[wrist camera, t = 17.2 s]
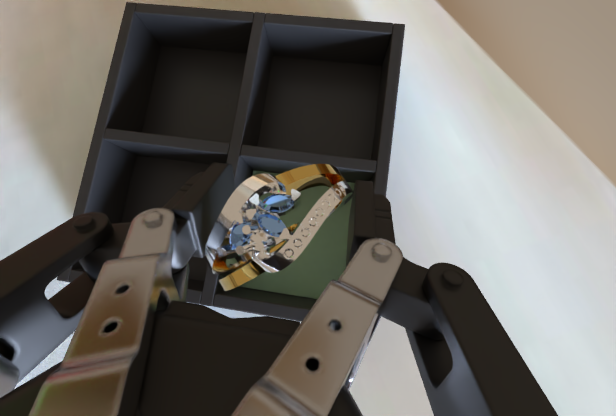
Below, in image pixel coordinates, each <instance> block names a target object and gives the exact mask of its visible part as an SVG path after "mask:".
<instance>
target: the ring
mask: <svg viewBox="0 0 616 416" xmlns="http://www.w3.org/2000/svg"><path fill="white" fill-rule="evenodd" d="M315 186H328V187H329V188H328V190H327V191H326V192H325V193H324V194H322V195H321V196H320V197H319V198H318V199H317V200H316V201H315V202H314V204H313V205H312V206H311V207H310V208H309V210H308V211H307V212H306V214H305V215H304V216H303V218H302V219H301V220H300V222H299V223H297V224H296V223H295V224H293V225H291V226H290V227H287V225H286V224H285V223H284V222H283V221H282V220H281V218H282V216H283V215H286V214H288V213H289V212H291V211H292V210H294V211H295V210H296V209H298V208H299V207H300V205H301V193H300V191H302V190H305V189H308V188H311V187H315ZM268 192H270V193H273V195H271V196H268V197H267V198H265V199H264V200H263V201H261V199H260V197H261V196H262V195H263V194H265V193H268ZM353 193H354V192H353V190H352V189H351V187H350V186H349V184H348V183H347V182H346V181H345V179H344V177H343V176H342V175H341V173H340V172H339V170H338V169H337V168H336V167H334V166H332V165H329V164H312V165H307V166H302V167H299V168H295V169H292V170H289V171H286V172H284V173H281V174H279V175H276V176H273V175H271V174H257V175H254V176H252V177H250V178H248V179H247V180H245V181H244V182H243V183H241V184H240V185H239V186H238V187H237V188H236V189H235V191H234V192H233V193H232V195H231V196H230V198H229V199H228V201H227V202H226V204H225V206H224V208H223V209H222V211H221V213H220V215H219V217H218V219H217V221H216V223H215V225H214V227H213V230H212V232H211V234H210V236H209V239H208V241H207V244H206V248H205V259H206V261H207V263H208V265H209V267H210V269H211V271H212V272H213V274H214V275H223V274H226V273H228V272H230V273H228V274H227V275H225V276H224V277H222V278H221V279H219V280H218V281H219V283H220V284H221V286H222V288H223V290H224V291H228V290H231V289H233V288H236V287H238V286H240V285H242V284H244V283H246V282H248V281H249V280H251V279H253V278H255V277H257V276H259V275H260V274H262V273H264V272H270V273H274V272H278V271H281V270H283V269H284V268H286V267H287V266H289V265H290V264H291V263H292V262H294V261H295V260H296V259H297V258H298V256H299V255H300V254H301V253H302V252H303V250H304V249H305V248H306V246H307V245H308V244H309V242H310V241H311V239H312V238H313V236H314V235H315V233H316V232H317V231H318V229H319V228H320V226H321V225H322V224H323V223H324V222H325V221H327V220H328V219H329V218H330V217H332V216H333V215H334V214H335V213H337V212H338V211H339V210H340V209H341V208H342V207H343V206H344V205H345V204H346V203H347V202H348V201H349V200H350V199H351V198H352V197H353ZM252 206H253V208H254V209H250V208H251V207H252ZM264 213H265V214H264ZM256 223H257V224H256ZM273 237H274V238H273ZM272 238H273V239H272ZM234 252H236V253H237V254H239V255H241V256H238V257H236V258H232V259H226V258H227V255H229V254H232V253H234ZM245 253H246V254H245ZM242 254H243V255H242ZM231 271H232V272H231Z"/></svg>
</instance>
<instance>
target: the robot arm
mask: <svg viewBox="0 0 616 416" xmlns="http://www.w3.org/2000/svg"><path fill="white" fill-rule="evenodd" d="M235 189H236V188H235V180H234V172H233V167H232V165H231V164H226V163H218V162H213V163H212V164H211V165H210V166H209V167H208V168H207V170H206V171H205V172H199V173H198V174H196V175H194V176H192V177H191V178H190V179H189V180H188V181H187V182H186V183H185V185H183V186H182V187H181V188H180V190H179V191H177V192H176V193H175V195H174V196H173V197H172V198H171V199H170V200H169V201H168V202H167V203H166V204H165V205H164V206H163V207H162V208H153V209H149V210H146V211H143V212H141V213H140V214H138V215H137V216H136V217H135V218H134V219H133V220H132V222H127V223H114V224H111V222H110V220H109V218H108V216H107V215H106V214H104V213H101V212H89V213H84V214H81V215H78V216H75V217H73V218H71V219H70V220H68V221H66V222H65V223H63V224H61V225H60V226H58V227H56V228H55V229H53V230H51V231H50V232H48V233H46V234H45V235H43V236H41V237H40V238H38V239H36V240H35V241H33V242H31V243H30V244H28V245H26V246H25V247H23V248H21V249H20V250H18V251H16V252H15V253H13V254H11V255H10V256H8V257H6V258H5V259H3V260H1V261H0V416H363V415H362V413H361V412H360V410H359V408H358V406H357V404H356V403H355V401H354V399H353V397H352V395H351V394H350V392H349V389H350V387H351V385H352V383H353V380H354V378H355V376H356V373H357V371H358V369H359V366H360V364H361V361H362V359H363V356H364V354H365V352H366V349H367V347H368V345H369V343H370V341H371V338H372V336H373V334H374V332H375V329H376V327H377V325H378V323H379V321H380V318H381V316H382V317H384V318H386V319H388V320H390V321H392V322H395V323H397V324H399V325H401V326H403V327H405V329H406V332H407V335H408V338H409V341H410V345H411V348H412V351H413V354H414V357H415V360H416V363H417V366H418V369H419V372H420V375H421V378H422V381H423V384H424V387H425V390H426V393H427V396H428V399H429V402H430V405H431V408H432V411H433V414H434V416H558V415H557V413H556V412H555V410H554V408H553V407H552V405H551V403H550V402H549V400H548V399H547V397H546V395H545V394H544V392H543V391H542V389H541V387H540V386H539V384H538V383H537V381H536V379H535V378H534V376H533V375H532V373H531V371H530V370H529V368H528V367H527V365H526V363H525V362H524V360H523V359H522V357H521V355H520V354H519V352H518V351H517V349H516V347H515V346H514V344H513V343H512V341H511V339H510V338H509V336H508V334H507V333H506V331H505V330H504V328H503V326H502V325H501V323H500V322H499V320H498V318H497V317H496V315H495V314H494V312H493V310H492V309H491V307H490V306H489V304H488V302H487V301H486V299H485V298H484V296H483V294H482V293H481V291H480V290H479V288H478V286H477V285H476V283H475V282H474V280H473V279H472V277H471V276H470V275H469V274H468V273H467V272H466V271H464V270H463V269H461V268H459V267H457V266H455V265H452V264H448V263H436V264H434V265H432V266H431V267H430V268H429V269H426V268H424V267H421V266H419V265H416V264H414V263H412V262H410V261H408V260H407V259H405V258H404V257H403V255H402V252H401V250H400V249H399V248H398V246H396V245H395V237H394V230H393V222H392V214H391V206H390V202H389V201H388V199H387V198H386V197H385V195H381V194H374V188H373V182H371V181H363V180H356V181H355V185H354V191H353V192H354V193H353V197H352V202H351V208H350V215H349V224H348V240H347V255H346V268H345V270H344V271H343V273H342V274H341V276H340V277H339V279H338V280H335V279H333V280H331V281H330V282H329V284H328V285H327V286H326V288H325V289H324V291H323V292H322V294H321V295H320V296H319V298H318V299H317V301H316V302H315V304H314V305H313V306H312V308H311V309H310V311H309V312H308V314H307V315H306V317H305V318H304V319H303V321H302V322H301V324H300V322H298V321H292V320H287V319H281V318H275V317H269V316H264V317H250V318H229V317H227V316H224V315H222V314H220V313H218V312H216V311H214V310H212V309H210V308H207V307H205V306H203V305H199V304H193V303H187V302H186V299H187V289H188V279H189V270H190V266H189V263H188V261H189V260H190V258H191V257H192V256H193V257H199V258H203V256H204V255H205V248H206V244H207V241H208V239H209V236H210V234H211V232H212V230H213V227H214V225H215V223H216V221H217V219H218V217H219V215H220V213H221V211H222V209H223V208H224V206H225V204H226V202H227V201H228V199H229V198H230V196H231V195H232V193H233V192H234V191H235ZM78 261H79V263H80V264H81V266H82V267H83V269H84V270H85V272H84V273H82V274H81V275H80V276H79V277H77V278H76V279H75V280H73V281H72V282H71V283H70V284H68V285H67V286H66V287H64V288H63V289H62V290H61V291H59V292H58V293H57V294H55V295H54V296H53V297H52V298H50V299H49V300H48V299H47V298H46V297H45V294H44V292H45V288H46V287H47V285H48V284H49V283H50V282H51V281H52V280H53V279H55V278H56V277H57V276H59V275H60V274H62V273H63V272H64V271H66V270H67V269H68V268H70V267H71V266H73V265H74V264H75V263H77V262H78ZM75 330H76V331H75ZM74 331H75V333H74V335H73V338H72V340H71V343H70V345H69V347H68V350H67V352H66V355H65V357H64V359H63V361H62V362H60V363H58V364H57V365H55V366H53V367H51V368H50V369H48V370H46V371H45V372H43V373H41V374H40V375H38V376H36V377H35V378H33V379H31V380H30V381H28V382H26V383H24V384H23V385H21V386H19V387H18V388H16V389H14V388H15V387H16V385H17V383H18V382H19V381H21V380H22V379H23V378H24V377H25V376H26V375H27V374H28V373H29V372H30V371H31V370H33V369H34V368H35V367H36V366H37V365H38V364H39V363H40V362H41V361H42V360H43V359H45V358H46V357H47V356H48V355H49V354H50V353H51V352H52V351H53V350H54V349H55V348H57V347H58V346H59V345H60V344H61V343H62V342H63V341H64V340H65V339H66V338H67V337H69V336H70V335H71V334H72V333H73V332H74Z"/></svg>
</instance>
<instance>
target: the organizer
mask: <svg viewBox="0 0 616 416" xmlns="http://www.w3.org/2000/svg"><path fill="white" fill-rule="evenodd" d="M404 30H405V24H393V23H384V22H371V21H358V20H346V19H333V18H320V17H308V16H295V15H282V14H270V13H266V14H265V13H258V12H255V13H253V12H243V11H230V10H217V9H205V8H192V7H179V6H167V5H154V4H141V3H131V2H127V3H126V6H125V10H124V14H123V18H122V22H121V26H120V30H119V34H118V38H117V42H116V46H115V50H114V54H113V58H112V62H111V66H110V70H109V74H108V78H107V82H106V86H105V90H104V94H103V98H102V102H101V106H100V110H99V114H98V118H97V122H96V126H95V130H94V134H93V138H92V142H91V146H90V150H89V154H88V158H87V162H86V166H85V170H84V174H83V178H82V182H81V186H80V190H79V194H78V198H77V202H76V206H75V210H74V214H73V217H75V216H78V215H81V214H84V213H89V212H101V213H104V214H106V215H107V216H108V218H109V220H110V222H111V224H114V223H127V222H132V220H133V219H134V218H135V217H136V216H137V215H138V214H140V213H141V212H143V211H146V210H149V209H153V208H162V207H163V206H164V205H165V204H166V203H167V202H168V201H169V200H170V199H171V198H172V197H173V196H174V195H175V193H176V192H177V191H179V190H180V188H181V187H182V186H183V185H185V183H186V182H187V181H188V180H189V179H190V178H191V177H192V176H194V175H196V174H198V173H199V172H205V171H206V170H207V168H208V167H209V166H210V165H211V164H212V163H213V162H218V163H226V164H231V165H232V167H233V172H234V180H235V188H237V187H238V186H239V185H240V184H241V183H243V182H244V181H245V180H247V179H248V178H250V177H252V176H254V175H257V174H271V175H273V176H276V175H279V174H281V173H284V172H286V171H289V170H292V169H295V168H299V167H302V166H307V165H312V164H329V165H332V166H334V167H336V168H337V169H338V170H339V172H340V173H341V175H342V176H343V177H344V179H345V181H346V182H347V183H348V184H349V186H350V187H351V189H352V190H353V191H354V185H355V181H356V180H363V181H371V182H373V188H374V194H381V195H385V197H386V190H387V181H388V172H389V163H390V154H391V145H392V136H393V128H394V119H395V110H396V101H397V92H398V83H399V74H400V66H401V57H402V48H403V39H404ZM328 188H329V187H328V186H315V187H311V188H308V189H305V190H302V191H300V193H301V205H300V207H299V208H298V209H296V210H295V211H294V210H292V211H291V212H289V213H288V214H286V215H283V216H282V218H281V220H282V221H283V222H284V223H285V224H286V225H287V227H290V226H291V225H293V224H295V223H296V224H297V223H299V222H300V220H301V219H302V218H303V216H304V215H305V214H306V212H307V211H308V210H309V208H310V207H311V206H312V205H313V204H314V202H315V201H316V200H317V199H318V198H319V197H320V196H321V195H322V194H324V193H325V192H326V191H327V190H328ZM271 195H273V193H270V192H268V193H265V194H263V195H262V196H261V197H260V199H261V201H263V200H264V199H265V198H267V197H268V196H271ZM351 202H352V198H351V199H350V200H349V201H348V202H347V203H346V204H345V205H344V206H343V207H342V208H341V209H340V210H339V211H338V212H337V213H335V214H334V215H333V216H332V217H330V218H329V219H328V220H327V221H325V222H324V223H323V224H322V225H321V226H320V228H319V229H318V231H317V232H316V233H315V235H314V236H313V238H312V239H311V241H310V242H309V244H308V245H307V246H306V248H305V249H304V250H303V252H302V253H301V254H300V255H299V256H298V258H297V259H296V260H295V261H294V262H292V263H291V264H290V265H289V266H287V267H286V268H284V269H283V270H281V271H278V272H274V273H270V272H264V273H262V274H260V275H259V276H257V277H255V278H253V279H251V280H249V281H248V282H246V283H244V284H242V285H240V286H238V287H236V288H233V289H231V290H228V291H224V290H223V288H222V286H221V284H220V283H219V281H218V280H219V279H221V278H222V277H224V276H225V275H227V274H228V273H230V272H228V273H226V274H223V275H214V274H213V272H212V271H211V269H210V267H209V265H208V263H207V261H206V259H205V255H204V256H203V258H199V257H193V256H192V257H191V258H190V260H189V261H188V263H189V266H190V270H189V279H188V289H187V299H186V302H189V303H195V304H201V305H207V306H214V307H219V308H225V309H231V310H237V311H243V312H249V313H254V314H260V315H266V316H272V317H278V318H284V319H290V320H296V321H301V322H302V321H303V319H304V318H305V317H306V315H307V314H308V312H309V311H310V309H311V308H312V306H313V305H314V304H315V302H316V301H317V299H318V298H319V296H320V295H321V294H322V292H323V291H324V289H325V288H326V286H327V285H328V284H329V282H330V281H331V280H333V279H335V280H338V279H339V277H340V276H341V274H342V273H343V271H344V270H345V268H346V255H347V240H348V224H349V215H350V208H351ZM250 209H254V208H253V206H252V207H251V208H250ZM264 214H265V213H264ZM256 224H257V223H256ZM273 238H274V237H273ZM273 238H272V239H273ZM245 254H246V253H245ZM242 255H243V254H242ZM238 256H241V255H239V254H237V253H236V252H234V253H232V254H229V255H227V258H226V259H232V258H236V257H238ZM84 272H85V270H84V269H83V267H82V266H81V264H80V263H79V261H78V262H77V263H75V264H74V265H73V266H71V267H70V268H68V269H67V270H66V271H64V272H63V273H62V274H60V275H59V276H58V277H57V280H60V281H66V282H72V281H73V280H75V279H76V278H77V277H79V276H80V275H81V274H82V273H84ZM231 272H232V271H231Z"/></svg>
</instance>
